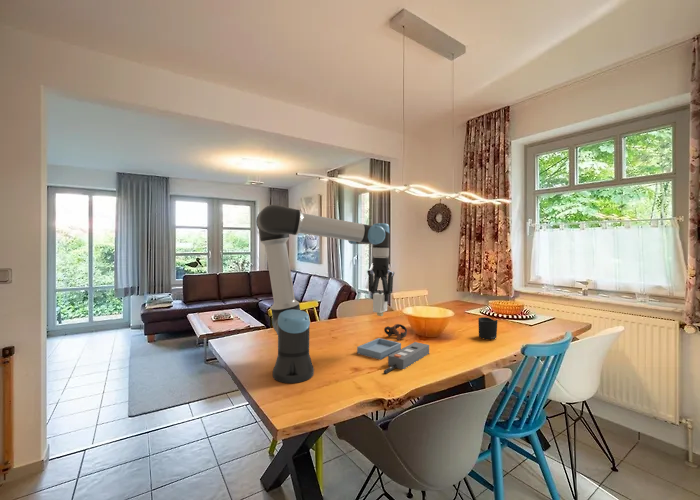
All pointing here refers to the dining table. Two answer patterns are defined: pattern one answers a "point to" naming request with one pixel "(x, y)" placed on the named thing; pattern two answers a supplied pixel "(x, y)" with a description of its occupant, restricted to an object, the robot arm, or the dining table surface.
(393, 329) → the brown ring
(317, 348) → the dining table surface
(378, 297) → the charger
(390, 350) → the tray
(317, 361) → the dining table surface
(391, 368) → the power strip
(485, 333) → the pen holder
